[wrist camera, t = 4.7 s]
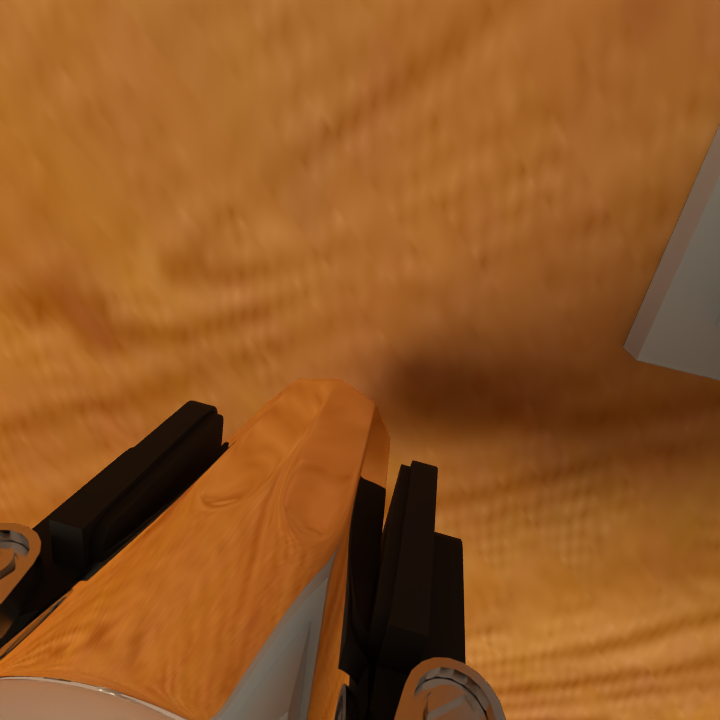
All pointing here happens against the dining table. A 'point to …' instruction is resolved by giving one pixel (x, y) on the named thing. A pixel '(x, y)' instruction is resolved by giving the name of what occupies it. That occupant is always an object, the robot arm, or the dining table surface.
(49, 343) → the dining table surface
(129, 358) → the dining table surface
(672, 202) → the dining table surface
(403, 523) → the robot arm
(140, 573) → the milkshake
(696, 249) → the socket
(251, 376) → the dining table surface
